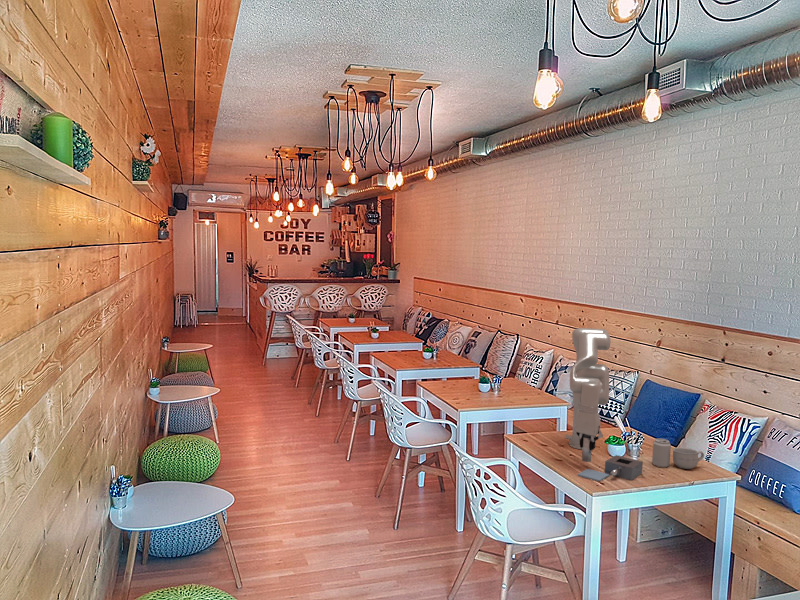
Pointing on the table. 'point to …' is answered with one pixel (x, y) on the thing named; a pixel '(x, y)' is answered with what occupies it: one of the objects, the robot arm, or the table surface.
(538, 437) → the table surface
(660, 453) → the can
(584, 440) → the grey tall cylinder
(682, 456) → the teacup
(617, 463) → the block
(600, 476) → the mat
